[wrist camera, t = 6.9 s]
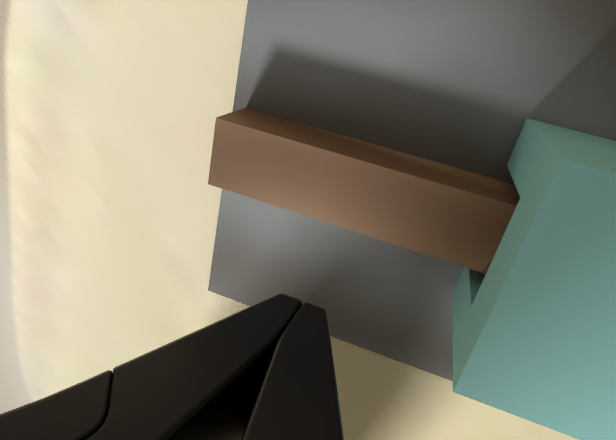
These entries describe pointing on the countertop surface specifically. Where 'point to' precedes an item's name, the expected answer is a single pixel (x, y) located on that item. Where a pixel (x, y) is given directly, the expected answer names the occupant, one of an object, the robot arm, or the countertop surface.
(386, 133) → the rail track
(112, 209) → the countertop surface
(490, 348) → the block
